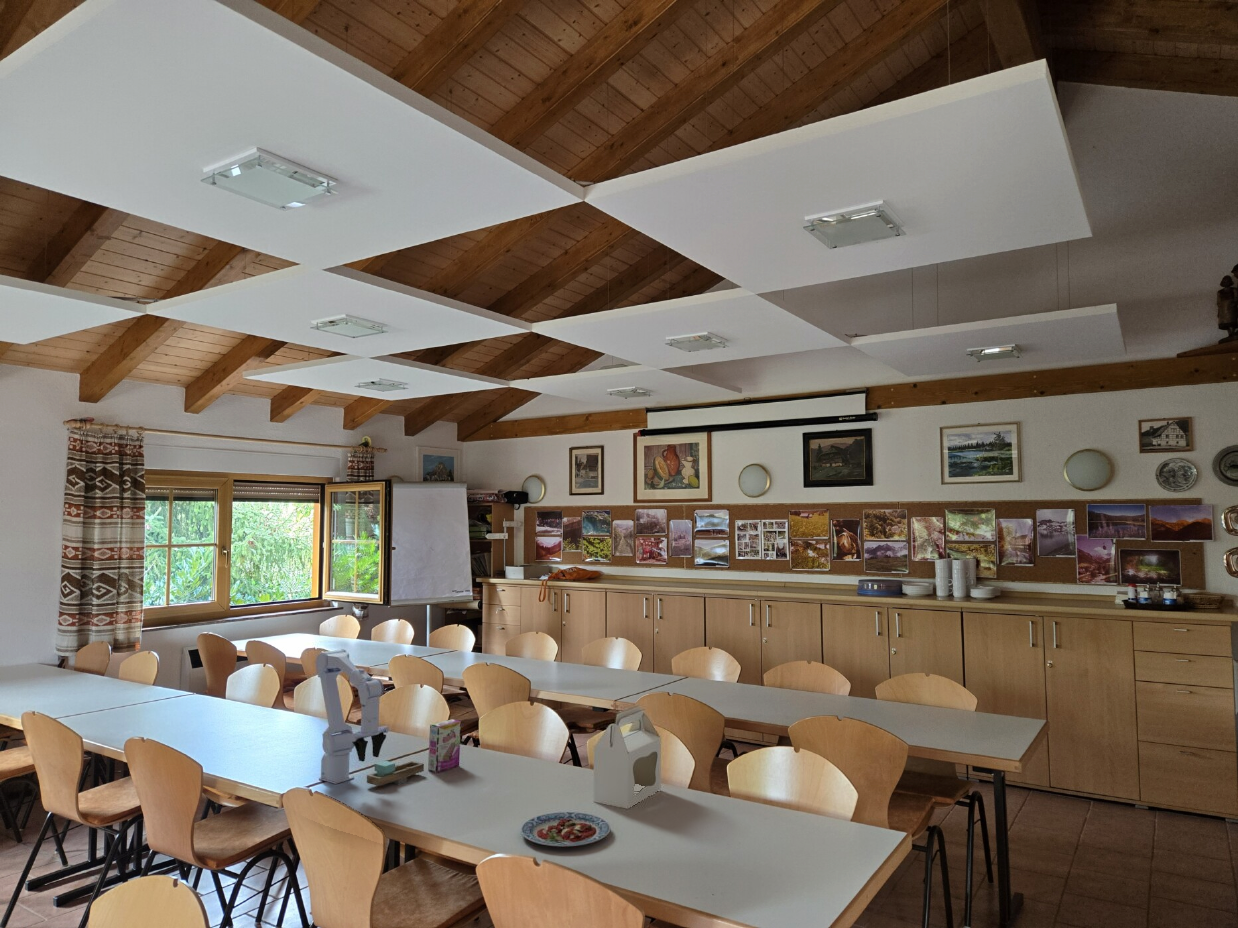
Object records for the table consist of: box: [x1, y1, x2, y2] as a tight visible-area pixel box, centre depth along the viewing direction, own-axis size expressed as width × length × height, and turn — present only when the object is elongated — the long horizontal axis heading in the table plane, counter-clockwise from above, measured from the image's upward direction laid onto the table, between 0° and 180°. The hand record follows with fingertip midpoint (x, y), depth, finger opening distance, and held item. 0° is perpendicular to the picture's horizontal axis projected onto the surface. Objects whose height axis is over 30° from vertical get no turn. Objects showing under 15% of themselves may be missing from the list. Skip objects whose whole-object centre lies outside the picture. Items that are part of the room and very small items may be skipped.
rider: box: [374, 760, 396, 777], centre depth 274 cm, size 5×4×5 cm
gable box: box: [592, 704, 662, 810], centre depth 266 cm, size 22×13×28 cm, turn 149°
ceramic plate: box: [520, 811, 611, 847], centre depth 232 cm, size 26×26×3 cm
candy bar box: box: [427, 718, 462, 774], centre depth 293 cm, size 11×5×16 cm, turn 144°
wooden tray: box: [366, 760, 425, 787], centre depth 278 cm, size 7×20×4 cm, turn 147°
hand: (368, 758), depth 269 cm, fingers open, 5 cm apart
